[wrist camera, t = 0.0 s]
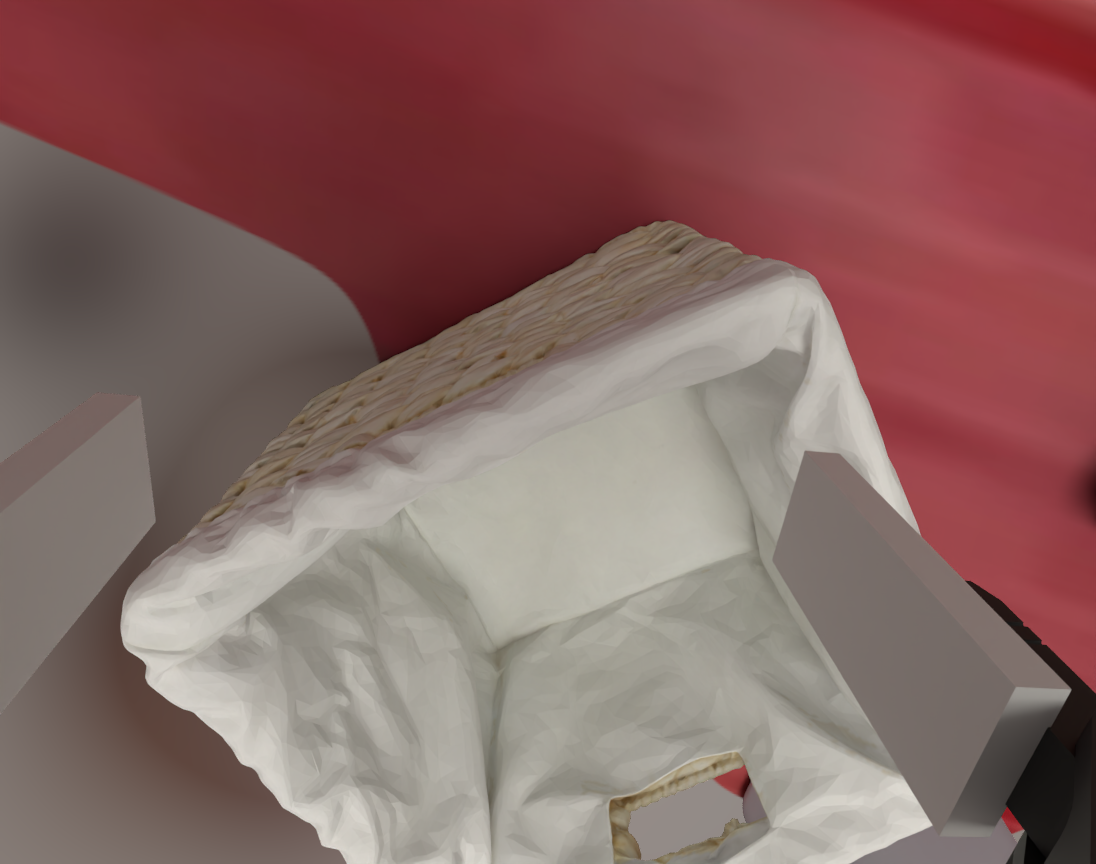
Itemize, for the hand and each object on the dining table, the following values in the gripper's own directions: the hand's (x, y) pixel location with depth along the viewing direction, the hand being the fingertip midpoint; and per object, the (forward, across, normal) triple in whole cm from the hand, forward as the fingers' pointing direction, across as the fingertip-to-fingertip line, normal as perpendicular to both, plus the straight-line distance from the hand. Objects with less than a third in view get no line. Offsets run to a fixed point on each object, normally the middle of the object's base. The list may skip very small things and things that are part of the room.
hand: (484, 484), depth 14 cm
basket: (+28, +6, -14) cm, 32 cm away
